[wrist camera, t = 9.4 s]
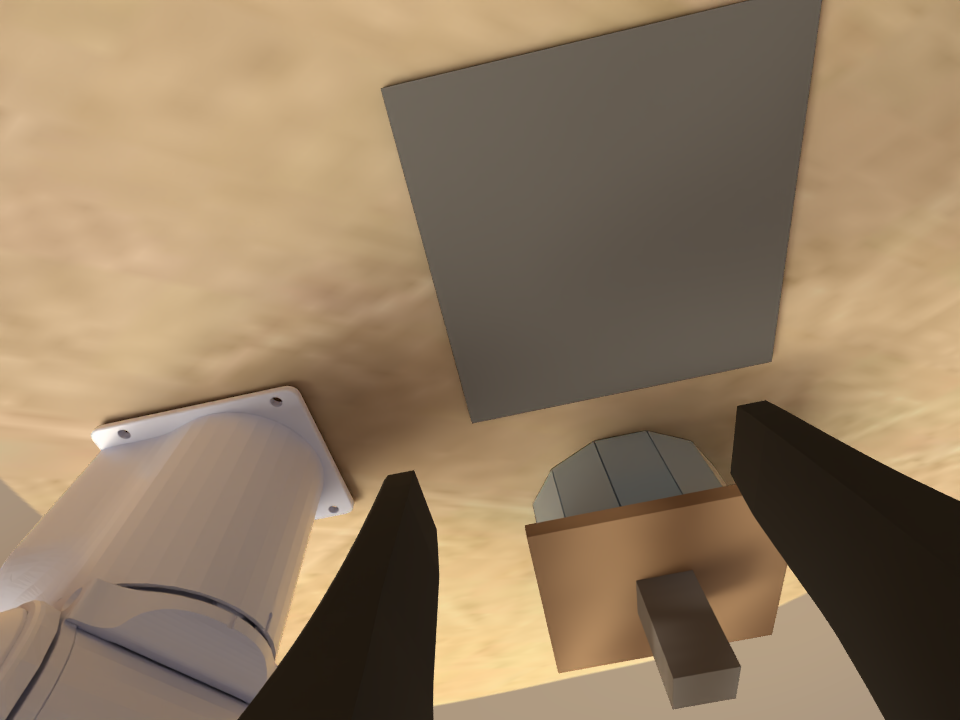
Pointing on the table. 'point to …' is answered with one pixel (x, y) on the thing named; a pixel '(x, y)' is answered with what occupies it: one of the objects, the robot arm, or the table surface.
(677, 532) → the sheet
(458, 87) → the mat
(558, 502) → the bowl
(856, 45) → the table surface
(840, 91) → the table surface
